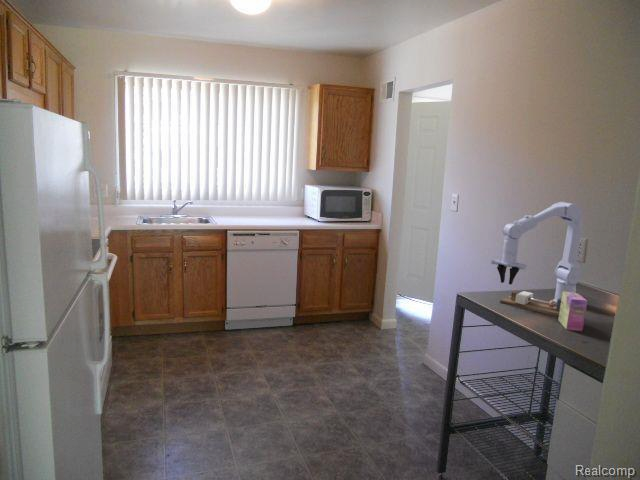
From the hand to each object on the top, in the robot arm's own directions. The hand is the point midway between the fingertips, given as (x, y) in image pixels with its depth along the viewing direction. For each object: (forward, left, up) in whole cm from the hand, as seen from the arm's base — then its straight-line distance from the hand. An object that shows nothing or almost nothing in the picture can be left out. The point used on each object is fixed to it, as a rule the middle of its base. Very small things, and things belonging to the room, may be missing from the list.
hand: (506, 283), depth 203 cm
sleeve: (-3, +7, -7) cm, 10 cm away
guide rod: (-3, +13, -6) cm, 14 cm away
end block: (-3, +22, -8) cm, 24 cm away
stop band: (-3, +18, -7) cm, 19 cm away
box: (+11, +29, -9) cm, 32 cm away
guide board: (-3, +12, -8) cm, 15 cm away
